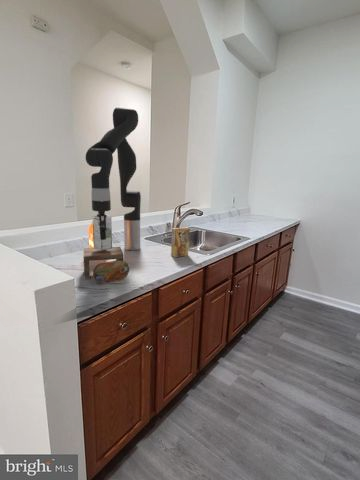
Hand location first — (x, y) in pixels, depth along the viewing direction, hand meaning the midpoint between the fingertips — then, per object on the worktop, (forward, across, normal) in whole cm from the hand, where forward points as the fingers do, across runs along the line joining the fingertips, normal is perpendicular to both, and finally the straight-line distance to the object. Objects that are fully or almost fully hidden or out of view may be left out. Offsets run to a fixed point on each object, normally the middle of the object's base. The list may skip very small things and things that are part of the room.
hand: (102, 237), depth 118 cm
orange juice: (+17, -26, -1) cm, 31 cm away
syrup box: (+5, 0, 0) cm, 5 cm away
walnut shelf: (+16, 0, 0) cm, 16 cm away
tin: (+17, +10, +2) cm, 19 cm away
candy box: (+17, -17, +41) cm, 47 cm away
